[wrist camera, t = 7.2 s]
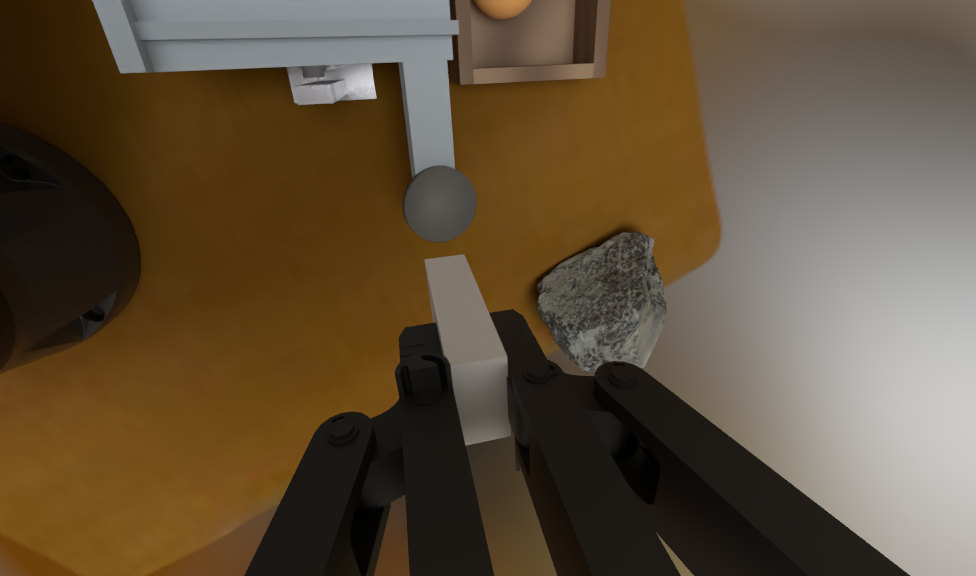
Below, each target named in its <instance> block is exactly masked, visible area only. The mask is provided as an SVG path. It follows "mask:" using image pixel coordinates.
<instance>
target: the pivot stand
mask: <svg viewBox="0 0 976 576" xmlns="http://www.w3.org/2000/svg"><path fill="white" fill-rule="evenodd" d="M323 66H324V72H325V77H317V78H303V73H302V69H301V66H294V67H287V72H288V76H289V81H290V85H291V90H292V94H293V98H294V103H298V105H309V104H327V103H335V102H336V101H344V100H362V99H377V97H376V90H375V83H374V76H373V69H372V63H366V64H342V65H323Z"/></svg>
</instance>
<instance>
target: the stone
mask: <svg viewBox="0 0 976 576" xmlns="http://www.w3.org/2000/svg"><path fill="white" fill-rule="evenodd" d="M653 245H654V240H653V239H652V238H650V237H649V236H648V235H646V234H643V233H637V232H633V233H626V232H623V233H620V234H619V235H615V236H614V237H612V238H611V239H609V240H607V241H606V242H604V243H603V244H602V245H601V246H599V247H594V248H589V249H588V250H587V251H584V252H582V253H579V254H577V255H575V256H574V257H572V258H570V259H568V260H566V261H564V262H562V263H560V264H559V265H558V266H557V267H556V268H555V269H553V270H552V271H551V273H550V274H549V275H547V276H545V277H544V278H543V280H542V281H540V282H539V283H538V286H537V289H538V292H539V298H538V300H537V310H538V312H539V314H540V316H541V318H542V320H543V322H544V323H545V324H546V325H547V326H548V328H549V329H550V330H551V331H552V335H553V338H554V340H555V341H556V343H557V344H558V345H559V346H560V348H561V349H562V350H563V351H564V353H565V354H566V355H567V356H568V358H569V359H570V360H571V361H573V362H574V363H575V364H577V365H578V366H579V367H580V368H581V369H582V370H584V371H585V372H587V373H588V372H596V370H597V368H598V367H599V366H601V365H602V364H604V363H607V362H612V361H624V362H627V363H631V364H634V365H636V366H638V367H639V368H643V367H644V366H645V364H646V362H647V360H648V358H649V356H650V354H651V352H652V349H653V348H654V346H655V344H656V341H657V339H658V337H659V334H660V332H661V330H662V327H663V324H664V319H665V315H666V301H665V299H664V292H663V280H662V278H661V276H660V273H659V271H658V268H657V267H656V264H655V263H654V262H655V261H654V256H653V255H652V247H653Z"/></svg>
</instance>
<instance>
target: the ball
mask: <svg viewBox="0 0 976 576" xmlns="http://www.w3.org/2000/svg"><path fill="white" fill-rule="evenodd" d="M473 1H474V2H475V4H476V5H477V7H478V8H479V9H480V10H481V11H482V12H483V13H485V14H486V15H487V16H489V17H491V18H494V19H499V20H505V19H510V18H514V17H516V16H518V15H519V14H521V13H522V12H523V11H524V10H525V9H526V8H527V7H528V6H529V4H530V3H531V2H532V0H473Z"/></svg>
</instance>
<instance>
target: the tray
mask: <svg viewBox="0 0 976 576" xmlns="http://www.w3.org/2000/svg"><path fill="white" fill-rule="evenodd" d="M449 5H450V20H458V22H459V34H458V35H452V50H453V60H450V63H451V77H452V83H456V84H459V85H467V84H487V83H506V82H525V81H545V80H564V79H583V78H603V77H605V71H606V58H607V45H608V32H609V19H610V6H611V0H532V2H531V3H530V4H529V6H528V7H527V8H526V9H525V10H524V11H523V12H522V13H521V14H519V15H518V16H516V17H514V18H510V19H505V20H499V19H494V18H491V17H489V16H487V15H486V14H485V13H483V12H482V11H481V10H480V9H479V8H478V7H477V5H476V4H475V2H474V1H473V0H449Z"/></svg>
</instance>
